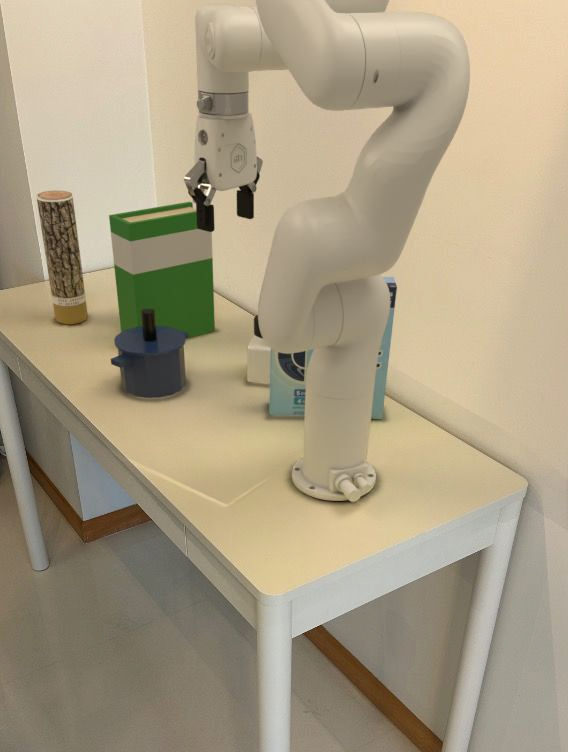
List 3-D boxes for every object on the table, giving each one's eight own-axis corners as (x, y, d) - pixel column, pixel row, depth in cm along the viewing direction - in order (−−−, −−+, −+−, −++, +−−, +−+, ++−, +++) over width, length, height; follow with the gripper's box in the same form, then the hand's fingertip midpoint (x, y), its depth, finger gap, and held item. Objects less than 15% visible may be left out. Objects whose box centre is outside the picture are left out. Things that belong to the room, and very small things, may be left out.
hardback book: (195, 320, 171) (190, 201, 157) (214, 331, 166) (211, 209, 152) (121, 338, 162) (108, 215, 148) (140, 351, 158) (128, 224, 143)
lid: (200, 343, 142) (199, 309, 138) (150, 365, 134) (147, 330, 130) (150, 325, 148) (148, 293, 144) (99, 346, 140) (95, 312, 136)
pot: (208, 379, 148) (207, 335, 143) (143, 412, 137) (138, 366, 132) (164, 362, 154) (161, 320, 148) (97, 393, 143) (92, 347, 138)
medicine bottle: (285, 388, 146) (286, 324, 138) (246, 384, 147) (246, 320, 139) (292, 371, 151) (294, 309, 144) (255, 368, 152) (255, 306, 145)
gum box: (269, 418, 136) (270, 284, 123) (269, 404, 140) (271, 273, 127) (383, 420, 136) (397, 286, 123) (380, 406, 140) (394, 275, 127)
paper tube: (94, 318, 171) (79, 193, 156) (72, 328, 166) (54, 201, 152) (71, 311, 174) (54, 188, 159) (48, 321, 169) (28, 195, 155)
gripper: (203, 114, 112) (207, 240, 122) (279, 100, 123) (277, 217, 133) (164, 108, 116) (171, 230, 126) (241, 95, 127) (242, 209, 137)
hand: (226, 223), depth 130 cm, fingers open, 9 cm apart
